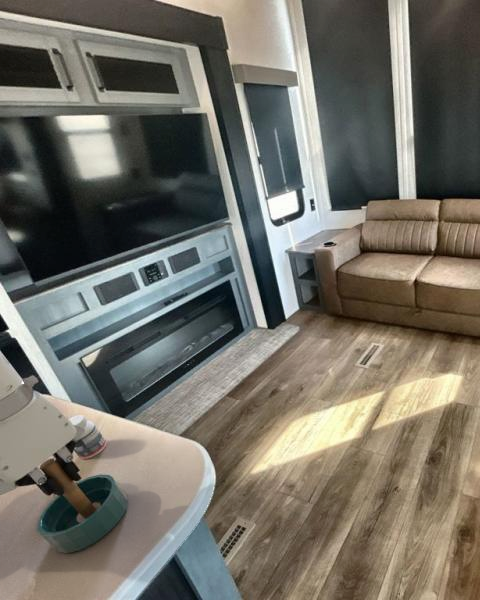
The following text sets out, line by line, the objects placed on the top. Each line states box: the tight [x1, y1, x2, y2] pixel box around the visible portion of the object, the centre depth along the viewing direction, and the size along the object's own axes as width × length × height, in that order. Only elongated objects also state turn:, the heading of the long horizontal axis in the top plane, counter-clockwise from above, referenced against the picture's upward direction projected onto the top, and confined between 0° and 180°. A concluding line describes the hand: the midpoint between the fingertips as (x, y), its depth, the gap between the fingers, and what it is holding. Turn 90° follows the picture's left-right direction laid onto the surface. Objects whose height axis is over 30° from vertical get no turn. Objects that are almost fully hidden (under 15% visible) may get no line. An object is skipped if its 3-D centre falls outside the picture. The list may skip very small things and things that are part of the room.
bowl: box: [36, 473, 129, 554], centre depth 65 cm, size 11×11×6 cm
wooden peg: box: [39, 457, 102, 523], centre depth 62 cm, size 4×4×14 cm
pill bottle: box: [68, 414, 107, 460], centre depth 80 cm, size 5×5×9 cm
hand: (65, 485), depth 61 cm, fingers closed on wooden peg, 2 cm apart
